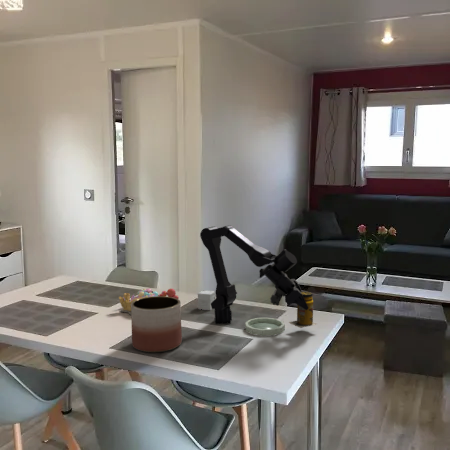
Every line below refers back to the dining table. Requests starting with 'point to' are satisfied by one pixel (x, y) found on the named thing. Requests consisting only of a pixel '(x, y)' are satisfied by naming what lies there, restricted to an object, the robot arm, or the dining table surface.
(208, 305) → the skincare box
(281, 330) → the round tray
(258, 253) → the robot arm
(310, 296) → the condiment
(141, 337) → the planter
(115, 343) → the dining table surface
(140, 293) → the candy landscape model
